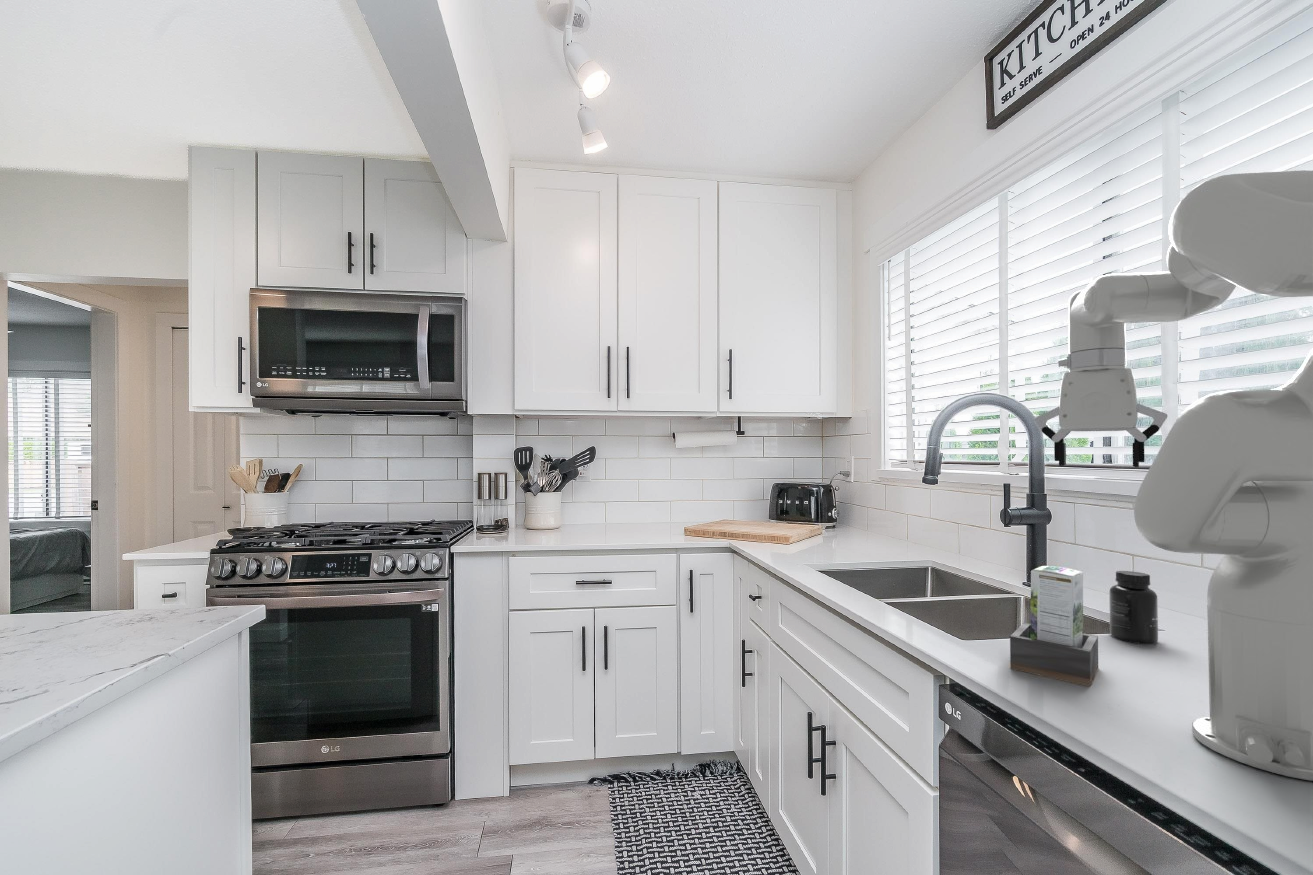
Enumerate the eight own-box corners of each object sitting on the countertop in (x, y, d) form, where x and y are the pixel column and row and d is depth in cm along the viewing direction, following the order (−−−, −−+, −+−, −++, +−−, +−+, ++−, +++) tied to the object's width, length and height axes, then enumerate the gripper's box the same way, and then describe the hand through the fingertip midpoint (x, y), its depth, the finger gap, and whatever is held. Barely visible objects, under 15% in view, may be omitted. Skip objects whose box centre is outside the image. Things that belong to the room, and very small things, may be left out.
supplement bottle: (1166, 646, 100) (1165, 578, 100) (1119, 642, 102) (1118, 575, 102) (1147, 635, 106) (1146, 570, 107) (1103, 631, 109) (1102, 568, 109)
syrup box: (1040, 653, 93) (1039, 564, 94) (1085, 663, 89) (1083, 569, 89) (1029, 661, 89) (1028, 568, 90) (1075, 672, 85) (1073, 574, 85)
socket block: (1090, 686, 82) (1089, 651, 82) (1010, 668, 89) (1010, 636, 89) (1098, 667, 89) (1097, 635, 90) (1023, 652, 96) (1023, 622, 96)
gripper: (1031, 365, 97) (1032, 465, 97) (1167, 354, 86) (1168, 468, 86) (1037, 370, 103) (1038, 464, 103) (1166, 361, 92) (1167, 467, 91)
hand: (1097, 466), depth 94 cm, fingers open, 9 cm apart
